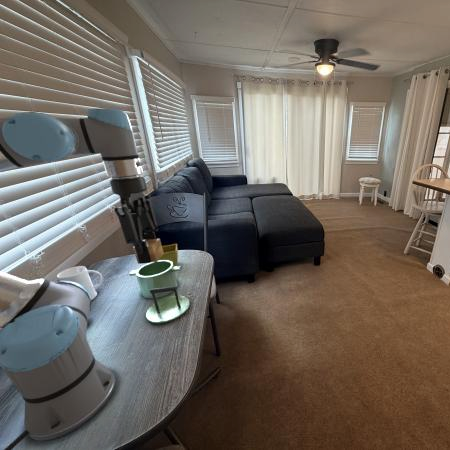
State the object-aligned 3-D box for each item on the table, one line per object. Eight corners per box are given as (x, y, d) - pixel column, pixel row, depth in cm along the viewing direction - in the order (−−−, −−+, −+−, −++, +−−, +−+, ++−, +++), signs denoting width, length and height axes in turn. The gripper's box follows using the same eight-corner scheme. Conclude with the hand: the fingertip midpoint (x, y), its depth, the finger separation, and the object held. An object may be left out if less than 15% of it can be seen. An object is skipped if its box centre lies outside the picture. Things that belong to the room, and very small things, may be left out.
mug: (108, 286, 98) (99, 261, 94) (106, 297, 92) (96, 270, 87) (70, 296, 92) (58, 270, 88) (65, 309, 86) (52, 281, 81)
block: (156, 262, 67) (152, 246, 65) (137, 263, 66) (132, 247, 64) (164, 253, 71) (159, 238, 70) (146, 255, 71) (141, 239, 69)
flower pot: (160, 263, 115) (156, 247, 112) (180, 259, 118) (176, 243, 115) (159, 272, 108) (154, 255, 104) (180, 268, 111) (176, 250, 108)
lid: (185, 321, 79) (179, 297, 76) (140, 327, 77) (132, 304, 73) (193, 295, 92) (189, 274, 88) (155, 300, 89) (149, 279, 86)
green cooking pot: (179, 295, 92) (174, 274, 88) (128, 301, 89) (121, 279, 86) (188, 277, 103) (183, 258, 100) (143, 282, 101) (137, 262, 97)
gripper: (122, 182, 52) (149, 273, 61) (157, 170, 69) (175, 243, 77) (85, 184, 51) (118, 276, 60) (130, 171, 68) (150, 245, 77)
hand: (150, 257), depth 69 cm, fingers closed on block, 5 cm apart
